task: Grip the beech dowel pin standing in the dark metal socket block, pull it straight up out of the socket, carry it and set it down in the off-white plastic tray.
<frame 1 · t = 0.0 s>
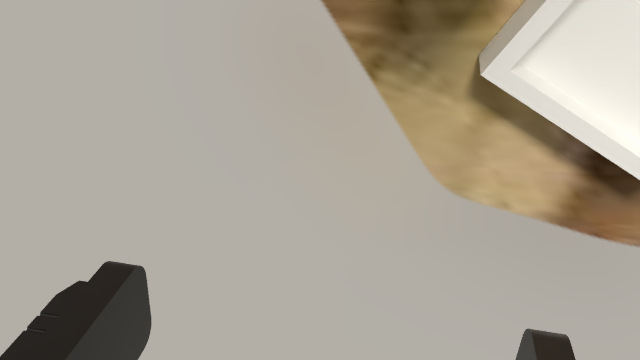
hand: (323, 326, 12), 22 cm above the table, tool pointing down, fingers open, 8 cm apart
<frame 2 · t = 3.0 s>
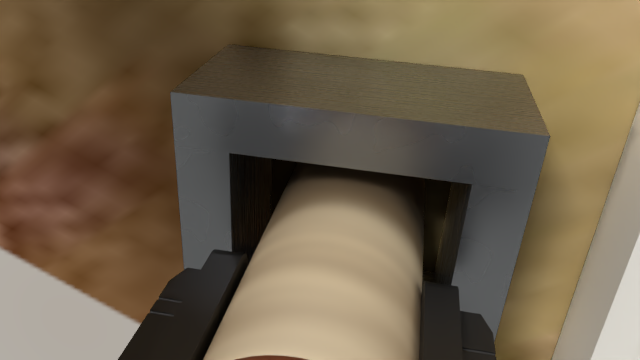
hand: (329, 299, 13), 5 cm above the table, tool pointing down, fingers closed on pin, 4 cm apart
socket block: (358, 187, 17), on the table
pin: (332, 292, 13), in the socket block, touching gripper
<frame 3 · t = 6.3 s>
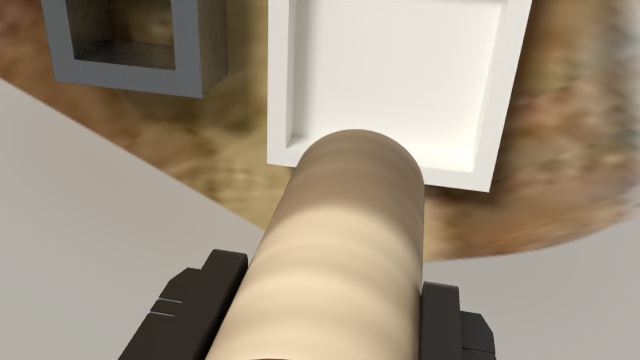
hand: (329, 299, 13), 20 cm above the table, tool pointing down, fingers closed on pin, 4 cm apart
pin: (332, 294, 13), point 20 cm above the table, touching gripper
tray: (390, 55, 30), on the table
when the fingers open (7 cm above the table, at t = 9.1 s): pin drops 2 cm, resting on tray.
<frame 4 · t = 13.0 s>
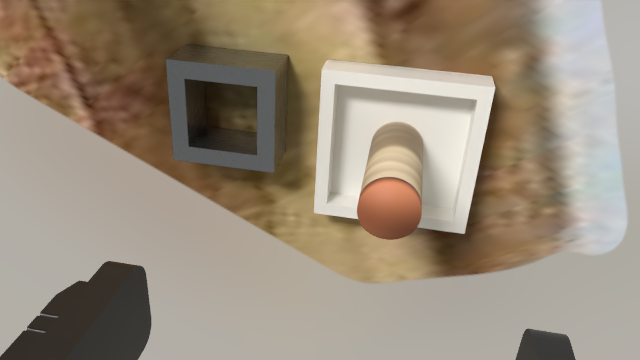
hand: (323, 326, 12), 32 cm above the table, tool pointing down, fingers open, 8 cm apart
socket block: (237, 99, 45), on the table
pin: (393, 175, 40), in the tray, point 6 cm above the table
tray: (398, 141, 45), on the table
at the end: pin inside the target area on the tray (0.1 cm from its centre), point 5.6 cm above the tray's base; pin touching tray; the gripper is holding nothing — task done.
